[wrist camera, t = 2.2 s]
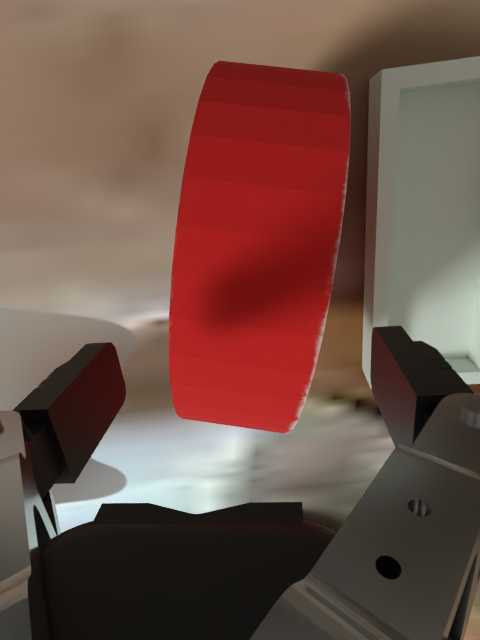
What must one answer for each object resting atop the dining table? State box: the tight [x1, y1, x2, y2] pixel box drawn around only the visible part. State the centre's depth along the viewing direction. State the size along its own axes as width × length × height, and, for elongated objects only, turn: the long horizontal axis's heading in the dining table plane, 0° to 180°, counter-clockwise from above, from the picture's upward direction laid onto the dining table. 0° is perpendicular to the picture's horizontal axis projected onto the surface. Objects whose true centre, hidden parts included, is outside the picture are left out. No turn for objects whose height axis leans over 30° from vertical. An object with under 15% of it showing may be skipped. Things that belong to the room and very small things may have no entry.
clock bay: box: [362, 56, 480, 388], centre depth 30 cm, size 10×24×4 cm, turn 6°
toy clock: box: [169, 61, 351, 434], centre depth 23 cm, size 20×6×20 cm, turn 174°
